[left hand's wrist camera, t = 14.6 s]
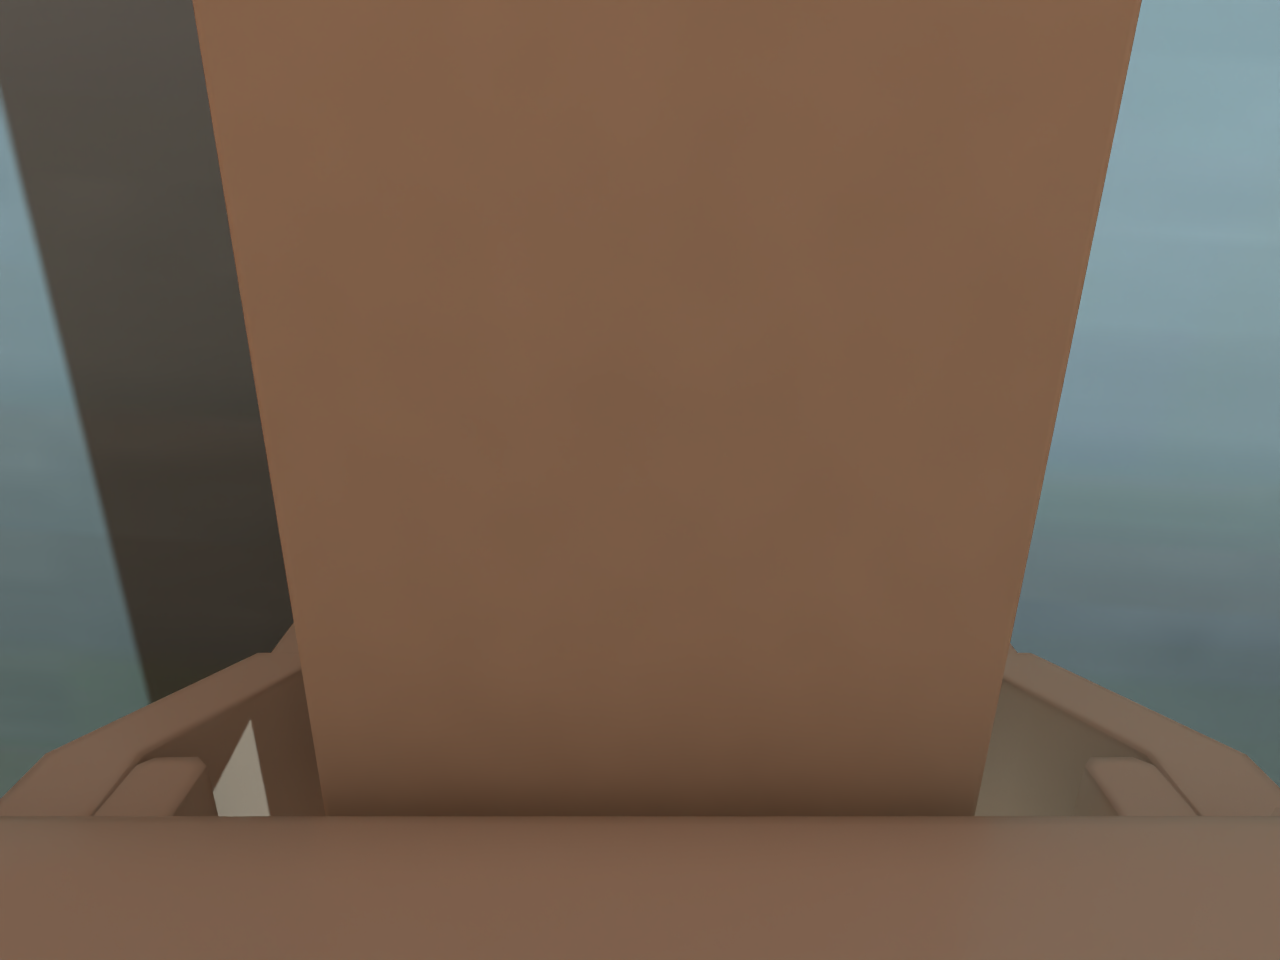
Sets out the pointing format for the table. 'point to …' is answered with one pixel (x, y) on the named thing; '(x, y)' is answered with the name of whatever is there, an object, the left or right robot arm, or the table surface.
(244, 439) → the table surface
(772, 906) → the left robot arm
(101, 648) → the table surface
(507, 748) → the beam
